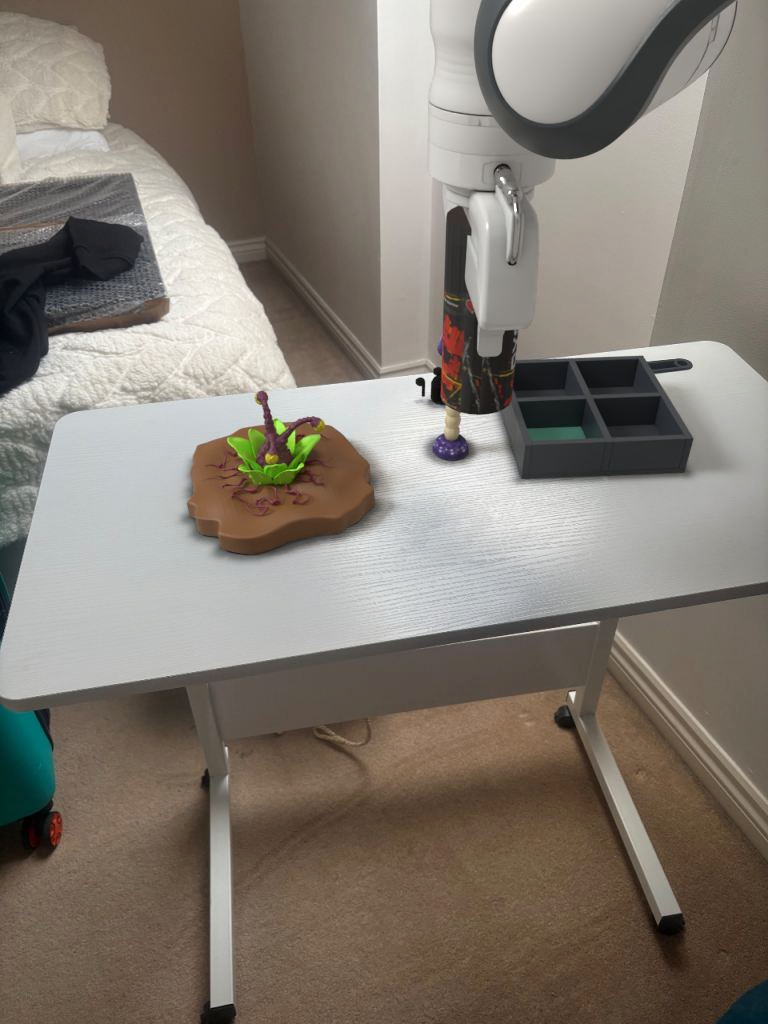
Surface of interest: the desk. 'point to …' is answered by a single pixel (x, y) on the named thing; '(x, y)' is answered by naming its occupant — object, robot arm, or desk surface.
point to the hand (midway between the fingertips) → (480, 330)
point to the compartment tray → (593, 419)
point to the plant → (278, 484)
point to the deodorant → (469, 337)
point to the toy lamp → (450, 433)
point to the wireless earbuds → (433, 385)
